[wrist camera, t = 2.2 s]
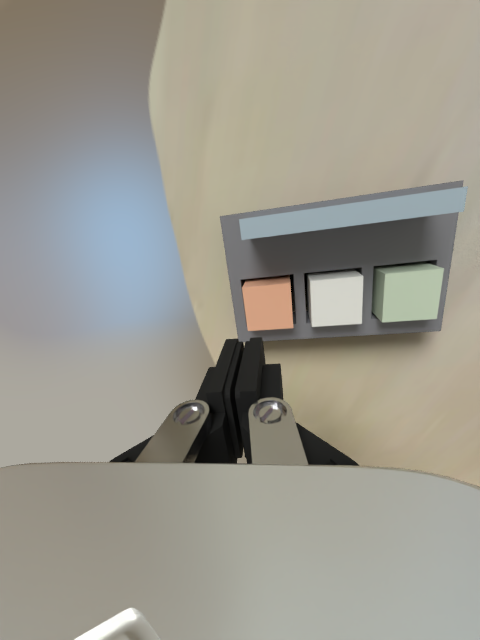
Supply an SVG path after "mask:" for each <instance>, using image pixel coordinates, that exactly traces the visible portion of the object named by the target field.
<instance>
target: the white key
mask: <svg viewBox="0 0 480 640" xmlns="http://www.w3.org/2000/svg"><path fill="white" fill-rule="evenodd" d="M306 275H307V298H308V315H309V318H310V322H311V325H312V327H319V326H335V325H350V324H362V303H363V275H361V274H360V273H359V272H357V271H356V270H355V269H353V268H350V269H340V270H331V271H321V272H311V273H306Z"/></svg>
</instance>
